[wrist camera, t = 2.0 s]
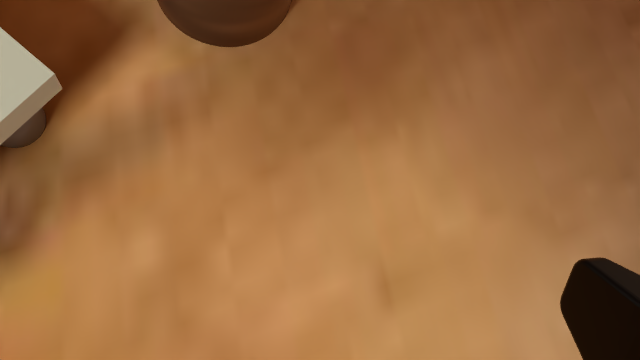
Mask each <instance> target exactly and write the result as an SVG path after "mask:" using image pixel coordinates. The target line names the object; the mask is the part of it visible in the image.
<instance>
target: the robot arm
mask: <svg viewBox="0 0 640 360" xmlns="http://www.w3.org/2000/svg"><path fill="white" fill-rule="evenodd" d="M560 306H561V311H562V314H563V317H564V319H565V321H566V323H567V326H568V328H569V330H570V332H571V334H572V336H573V339H574V341H575V343H576V345H577V347H578V349H579V352H580V354H581V356H582V358H583V360H640V275H638V274H636V273H634V272H632V271H630V270H628V269H626V268H624V267H622V266H620V265H618V264H616V263H614V262H612V261H610V260H608V259H606V258H588V259H581V260H579V261H577V262H576V263H575V264H574V266H573V269H572V271H571V273H570V276H569V278H568V281H567V283H566V286H565V288H564V291H563V293H562V296H561V301H560Z"/></svg>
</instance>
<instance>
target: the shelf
mask: <svg viewBox="0 0 640 360" xmlns="http://www.w3.org/2000/svg"><path fill="white" fill-rule="evenodd" d="M62 89H63V88H62V86H61V84H60V83H59V81H58V79H57V77H56V75H55V73H53V72H52V71H51V70H50V69H49V68H47V67H46V66H45V65H44V64H43V63H42V62H40V61H39V60H38V59H37V58H36V57H35V56H33V55H32V54H31V53H30V52H29V51H27V50H26V49H25V48H24V47H23V46H22V45H20V44H19V43H18V42H17V41H16V40H15V39H13V38H12V37H11V36H10V35H9V34H8V33H6V32H5V31H4V30H3V29H2V28H0V145H2V146H5V147H11V148H18V147H24V146H27V145H29V144H31V143H33V142H34V141H36V140H37V139H38V138H39V137H40V136H41V134H42V133H43V131H44V128H45V125H46V116H45V112H44V110H43V108H42V107H43V106H44V105H45V104H46V103H47V102H48V101H50V100H51V99H52V98H53V97H54V96H55V95H56V94H57V93H58V92H60V91H61V90H62Z"/></svg>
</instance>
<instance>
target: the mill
mask: <svg viewBox="0 0 640 360" xmlns="http://www.w3.org/2000/svg"><path fill="white" fill-rule="evenodd" d="M157 1H158V3H159V5H160V7H161V9H162V11H163V12H164V14H165V15H166V16H167V18H168V19H169V20H170V21H171V22H172V23H173V24H174V25H175V26H176V27H177V28H178V29H179V30H181V31H182V32H183V33H185V34H186V35H188V36H190V37H192V38H193V39H196V40H198V41H200V42H203V43H206V44H210V45H215V46H221V47H237V46H243V45H248V44H251V43H254V42H257V41H259V40H261V39H263V38H265V37H266V36H268V35H269V34H271V33H272V32H273V31H274V30H275V29H276V28H277V27H278V26H279V25H280V24H281V22H282V21H283V19H284V18H285V16H286V14H287V12H288V9H289V7H290V4H291V0H157Z"/></svg>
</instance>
